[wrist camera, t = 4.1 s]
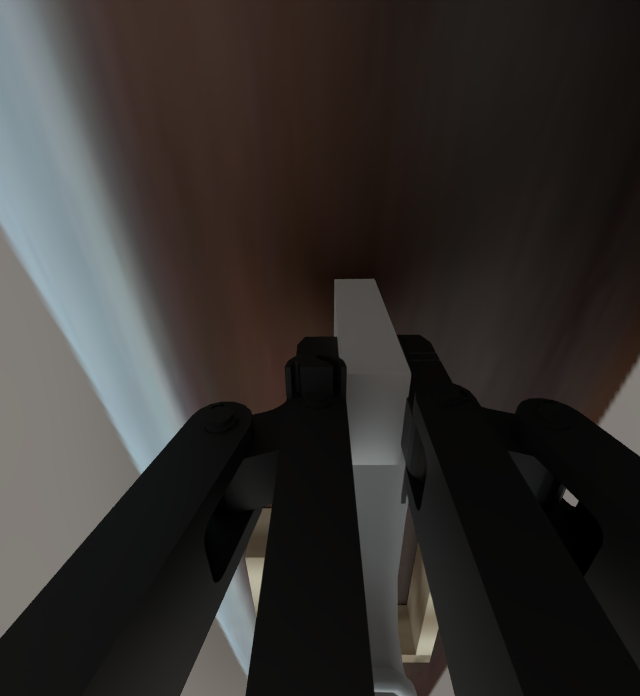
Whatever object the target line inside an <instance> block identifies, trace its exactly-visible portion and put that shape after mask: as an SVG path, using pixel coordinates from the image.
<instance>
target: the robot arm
mask: <svg viewBox="0 0 640 696" xmlns="http://www.w3.org/2000/svg"><path fill="white" fill-rule="evenodd" d="M285 381H286V395H287V401H286V402H285V403H284V404H282V405H281V406H279V407H277V408H275V409H273V410H270V411H267V412H263V413H259V414H254V415H252V413H251V410H250V409H248V408H247V407H246V406H245V405H243V404H240V403H237V402H219V403H214V404H210V405H208V406H206V407H204V408H201V409H200V410H198V411H197V412H196V413H195V414H194V415H192V416H191V418H190V419H189V420H188V421H187V422H186V423H185V424H184V426H183V427H182V428H181V429H180V430H179V431H178V433H177V434H176V435H175V436H174V437H173V438H172V440H171V441H170V442H169V443H168V444H167V445H166V447H165V448H164V449H163V450H162V451H161V452H160V454H159V455H158V456H157V457H156V458H155V459H154V460H153V462H152V463H151V464H150V465H149V466H148V467H147V469H146V470H145V471H144V472H143V473H142V474H141V476H140V477H139V478H138V479H137V480H136V481H135V483H134V484H133V485H132V486H131V487H130V488H129V490H128V491H127V492H126V493H125V494H124V495H123V496H122V498H121V499H120V500H119V501H118V502H117V503H116V505H115V506H114V507H113V508H112V509H111V510H110V512H109V513H108V514H107V515H106V516H105V517H104V519H103V520H102V521H101V522H100V523H99V524H98V526H97V527H96V528H95V529H94V530H93V532H91V534H90V535H89V536H88V537H87V538H86V539H85V541H84V542H83V543H82V544H81V545H80V547H79V548H78V549H77V550H76V551H75V552H74V553H73V555H72V556H71V557H70V558H69V559H68V560H67V561H66V563H65V564H64V565H63V566H62V567H61V569H60V570H59V571H58V572H57V573H56V574H55V575H54V577H53V578H52V579H51V580H50V581H49V583H48V584H47V585H46V586H45V587H44V588H43V589H42V591H41V592H40V593H39V594H38V595H37V596H36V598H35V599H34V600H33V601H32V603H30V605H29V606H28V607H27V608H26V609H25V610H24V611H23V613H22V614H21V615H20V616H19V617H18V618H17V620H16V621H15V622H14V623H13V624H12V625H11V627H10V628H9V629H8V630H7V631H6V633H5V634H4V635H3V636H2V637H1V638H0V696H180V694H181V692H182V690H183V688H184V685H185V683H186V681H187V678H188V676H189V674H190V672H191V670H192V667H193V665H194V663H195V661H196V659H197V656H198V654H199V652H200V649H201V647H202V645H203V643H204V641H205V638H206V636H207V634H208V632H209V629H210V627H211V625H212V622H213V620H214V618H215V616H216V614H217V611H218V609H219V607H220V605H221V602H222V600H223V598H224V596H225V593H226V591H227V589H228V587H229V584H230V582H231V580H232V578H233V575H234V573H235V571H236V569H237V566H238V564H239V562H240V560H241V557H242V555H243V553H244V551H245V548H246V546H247V544H248V542H249V539H250V537H251V535H252V533H253V530H254V528H255V526H256V524H257V522H258V519H259V517H260V515H261V513H262V508H263V506H267V505H270V504H272V509H271V516H270V523H269V530H268V538H267V545H266V552H265V559H264V566H263V574H262V581H261V588H260V595H259V603H258V610H257V617H256V624H255V631H254V639H253V646H252V653H251V660H250V667H249V675H248V682H247V689H246V696H375V693H374V682H373V672H372V662H371V651H370V641H369V630H368V620H367V610H366V599H365V589H364V579H363V568H362V558H361V548H360V537H359V527H358V517H357V506H356V496H355V485H354V475H353V465H400V460H401V452H403V455H404V459H405V463H406V464H405V471H404V478H403V486H402V493H401V504H406V497H408V501H409V505H410V509H411V513H412V518H413V522H414V526H415V530H416V534H417V539H418V543H419V547H420V551H421V555H422V560H423V564H424V568H425V572H426V576H427V581H428V585H429V589H430V593H431V597H432V602H433V606H434V610H435V614H436V618H437V623H438V627H439V631H440V635H441V639H442V644H443V648H444V652H445V656H446V660H447V665H448V669H449V673H450V677H451V681H452V686H453V690H454V694H455V696H640V456H638V455H637V454H636V453H634V452H633V451H632V450H630V449H629V448H628V447H626V446H625V445H623V444H622V443H621V442H619V441H618V440H617V439H615V438H614V437H612V436H611V435H610V434H608V433H607V432H606V431H604V430H603V429H602V428H600V427H599V426H598V425H596V424H595V423H594V422H592V421H591V420H590V419H588V418H587V417H586V416H584V415H583V414H581V413H580V412H578V411H577V410H575V409H573V408H572V407H570V406H568V405H565V404H563V403H560V402H558V401H555V400H548V399H543V398H535V399H527V400H525V401H522V402H521V403H520V404H519V406H518V407H517V410H516V413H515V414H513V413H507V412H502V411H497V410H492V409H488V408H484V407H481V406H480V404H479V403H478V401H477V399H476V398H475V397H474V395H473V394H472V393H471V392H470V391H468V390H467V389H465V388H463V387H461V386H459V385H456V384H453V383H452V381H451V379H450V377H449V376H448V374H447V372H446V370H445V368H444V366H443V365H442V363H441V361H439V357H438V355H437V354H436V353H435V350H434V348H433V346H432V345H431V343H430V342H429V341H428V340H426V339H425V338H423V337H422V336H420V335H396V333H395V330H394V328H393V325H392V323H391V320H390V317H389V315H388V312H387V310H386V307H385V305H384V302H383V299H382V297H381V294H380V292H379V289H378V287H377V284H376V281H375V279H334V337H305V338H304V339H303V340H302V341H301V342H300V343H299V344H298V345H297V353H296V356H295V357H293V358H292V359H290V360H289V361H288V362H287V364H286V366H285ZM566 488H567V489H568V490H569V491H570V492H571V493H572V494H573V495H574V496H575V497H576V498H577V499H578V500H579V502H578V504H577V506H576V507H574V506H571V505H570V504H569V503H568V502H566V501H565V500H564V499H563V498H562V497H563V495H564V493H565V490H566Z"/></svg>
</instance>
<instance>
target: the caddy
mask: <svg viewBox="0 0 640 696" xmlns="http://www.w3.org/2000/svg"><path fill="white" fill-rule="evenodd" d="M271 509H272V508H262V513H261V515H260V517H259V519H258V522H257V524H256V526H255V528H254V530H253V533H252V535H251V537H250V539H249V542H248V546H247V552H246V557H245V558H246V564H247V569H248V575H249V580H250V585H251V591H252V596H253V601H254V607H255V612H256V617H257V610H258V603H259V595H260V588H261V581H262V574H263V566H264V559H265V552H266V545H267V538H268V530H269V523H270V516H271ZM438 628H439V627H438V623H437V618H436V614H435V610H434V606H433V602H432V597H431V593H430V589H429V585H428V581H427V576H426V572H425V568H424V564H423V560H422V555H421V551H420V547H419V543H418V545H417V550H416V556H415V562H414V567H413V573H412V579H411V584H410V590H409V596H408V601H407V605H398V634H399V642H400V649H401V656H402V662H429V661H430V658H431V654H432V650H433V646H434V643H435V639H436V635H437V631H438Z"/></svg>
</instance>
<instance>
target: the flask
mask: <svg viewBox="0 0 640 696" xmlns="http://www.w3.org/2000/svg"><path fill="white" fill-rule="evenodd" d="M405 464H406V463H405V459H404V455H403V452H401V460H400V465H353V475H354V485H355V496H356V506H357V517H358V527H359V537H360V548H361V558H362V568H363V579H364V589H365V599H366V610H367V620H368V630H369V641H370V651H371V662H372V672H373V682H374V693H375V696H417V693H416V691H415V688H414V685H413V684H412V682H411V681H410V680H409V679H407V678H406V676H405V672H404V668H403V663H402V656H401V649H400V642H399V634H398V571H399V563H400V556H401V548H402V541H403V534H404V526H405V519H406V513H407V507H408V497H406V504H401V493H402V486H403V478H404V471H405Z"/></svg>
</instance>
